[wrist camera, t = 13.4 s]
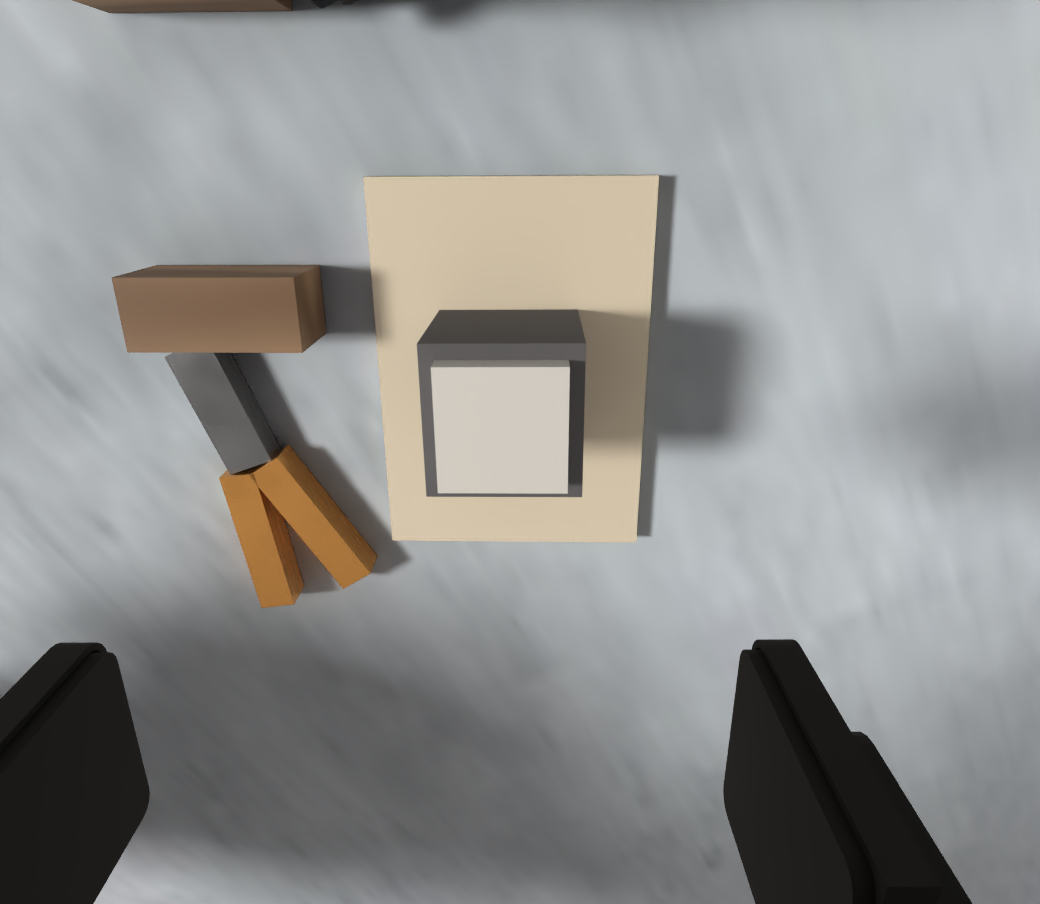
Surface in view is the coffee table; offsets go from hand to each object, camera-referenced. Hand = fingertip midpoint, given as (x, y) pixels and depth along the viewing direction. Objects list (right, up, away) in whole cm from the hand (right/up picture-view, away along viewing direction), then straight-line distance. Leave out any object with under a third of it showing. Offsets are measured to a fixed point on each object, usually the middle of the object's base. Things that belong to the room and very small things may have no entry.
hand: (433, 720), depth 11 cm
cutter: (-9, +3, +19) cm, 21 cm away
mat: (+1, +7, +17) cm, 18 cm away
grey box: (+1, +7, +16) cm, 18 cm away
